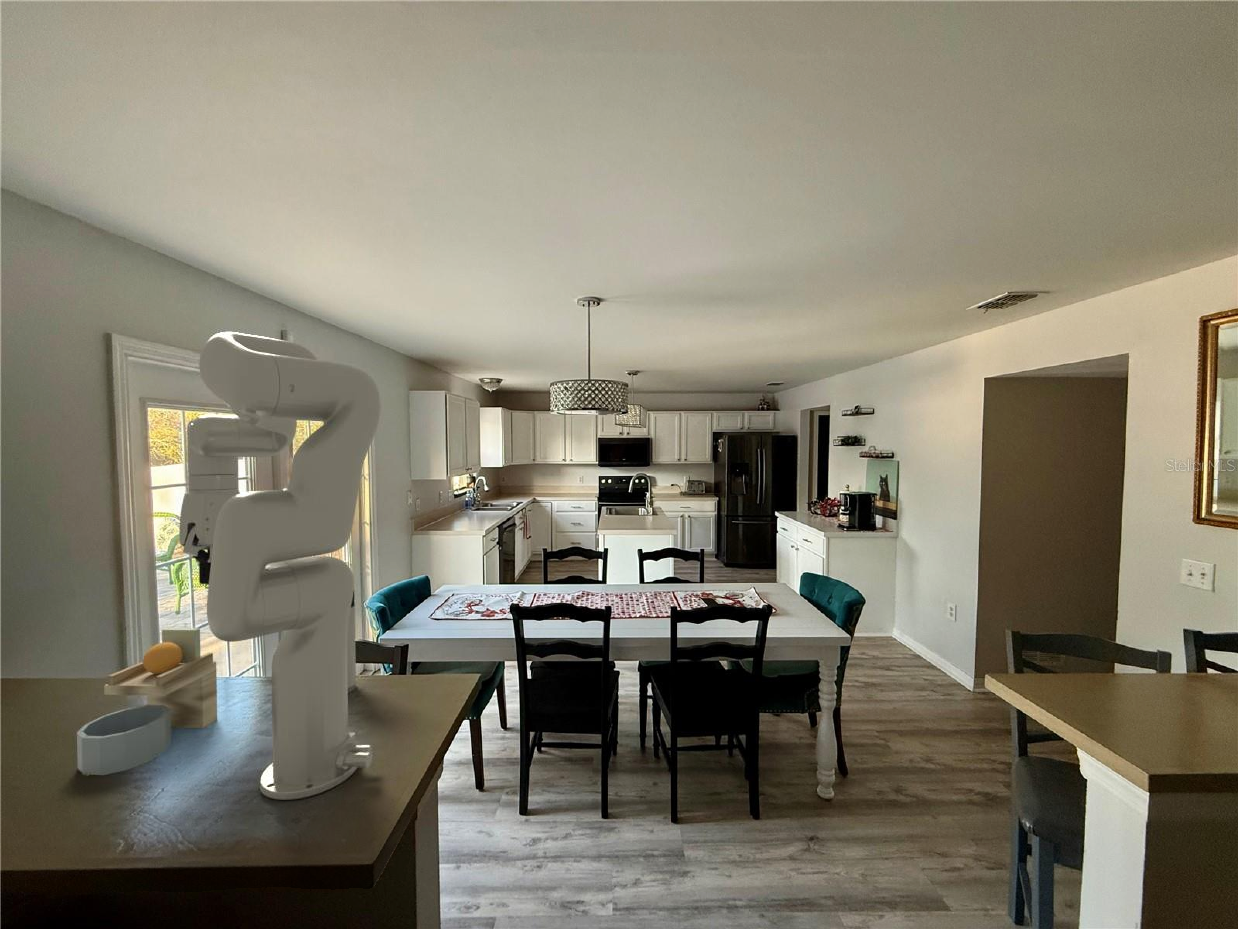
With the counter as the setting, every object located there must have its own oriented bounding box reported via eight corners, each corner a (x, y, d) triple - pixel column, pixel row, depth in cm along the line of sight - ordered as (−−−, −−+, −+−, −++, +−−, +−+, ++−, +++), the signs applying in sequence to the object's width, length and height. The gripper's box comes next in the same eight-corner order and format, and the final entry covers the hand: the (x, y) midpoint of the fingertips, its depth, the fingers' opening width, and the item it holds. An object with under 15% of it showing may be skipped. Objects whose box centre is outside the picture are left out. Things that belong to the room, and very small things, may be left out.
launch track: (217, 719, 93) (216, 653, 92) (165, 750, 83) (164, 676, 82) (163, 718, 93) (161, 652, 93) (105, 749, 83) (104, 676, 83)
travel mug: (363, 683, 107) (362, 586, 107) (343, 698, 100) (341, 594, 100) (334, 682, 108) (333, 585, 107) (312, 697, 101) (311, 594, 101)
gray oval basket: (186, 738, 86) (185, 705, 86) (125, 776, 76) (124, 738, 76) (127, 737, 87) (126, 704, 87) (58, 775, 76) (57, 737, 76)
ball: (190, 667, 90) (189, 638, 90) (164, 679, 85) (163, 648, 85) (162, 666, 90) (162, 637, 90) (134, 678, 85) (134, 648, 85)
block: (204, 659, 92) (203, 626, 92) (195, 663, 91) (195, 630, 90) (171, 659, 93) (171, 626, 93) (162, 663, 91) (161, 630, 91)
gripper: (228, 482, 106) (229, 572, 107) (155, 486, 90) (157, 592, 91) (263, 482, 106) (265, 572, 106) (196, 486, 90) (198, 593, 90)
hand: (215, 581), depth 98 cm, fingers closed
